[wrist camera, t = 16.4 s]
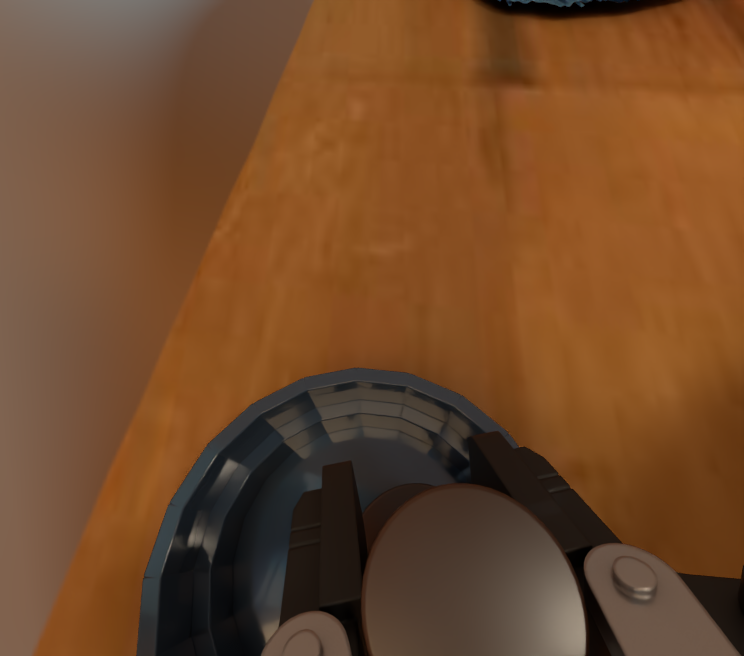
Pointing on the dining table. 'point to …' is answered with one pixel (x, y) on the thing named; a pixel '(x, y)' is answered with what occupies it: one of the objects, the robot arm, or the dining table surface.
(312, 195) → the dining table surface
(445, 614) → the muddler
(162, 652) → the bowl
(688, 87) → the dining table surface
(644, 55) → the dining table surface
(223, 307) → the dining table surface
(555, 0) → the decorative plate
